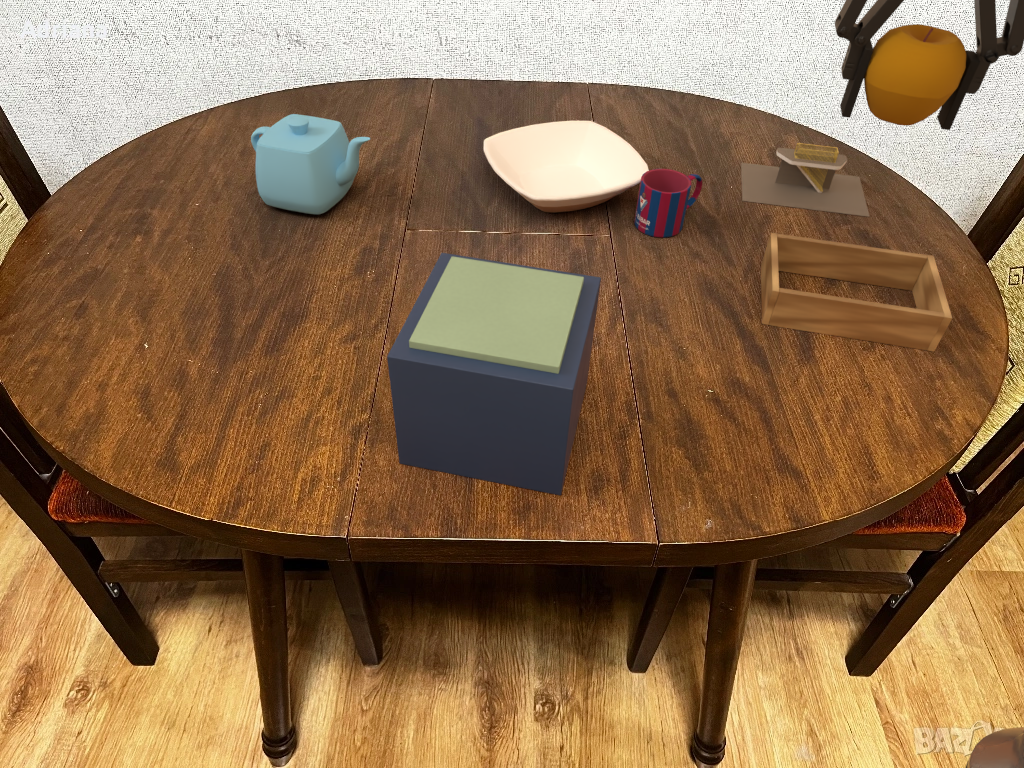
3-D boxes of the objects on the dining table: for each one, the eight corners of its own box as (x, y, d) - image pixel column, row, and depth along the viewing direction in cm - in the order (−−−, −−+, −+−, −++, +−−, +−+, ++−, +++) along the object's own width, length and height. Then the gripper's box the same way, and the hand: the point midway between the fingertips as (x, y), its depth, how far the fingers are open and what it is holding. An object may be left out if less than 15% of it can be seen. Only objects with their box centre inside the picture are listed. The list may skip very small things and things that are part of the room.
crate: (561, 495, 72) (573, 389, 62) (399, 463, 74) (386, 356, 64) (587, 382, 83) (601, 277, 73) (445, 357, 85) (441, 252, 76)
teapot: (359, 232, 103) (349, 153, 95) (240, 208, 106) (221, 130, 98) (395, 188, 112) (388, 112, 104) (284, 167, 115) (270, 93, 107)
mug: (625, 217, 108) (631, 173, 103) (684, 203, 111) (693, 160, 106) (650, 242, 103) (658, 197, 98) (711, 226, 106) (722, 182, 102)
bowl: (592, 144, 123) (596, 113, 119) (663, 211, 109) (669, 178, 105) (467, 167, 117) (467, 135, 113) (525, 241, 102) (526, 207, 99)
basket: (934, 351, 88) (952, 318, 85) (761, 324, 91) (772, 290, 88) (917, 288, 97) (933, 255, 94) (760, 265, 100) (770, 232, 97)
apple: (855, 134, 73) (889, 38, 67) (841, 98, 79) (872, 7, 73) (948, 143, 72) (991, 47, 66) (927, 106, 78) (965, 15, 72)
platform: (869, 216, 110) (886, 175, 105) (742, 200, 112) (753, 159, 107) (859, 176, 118) (874, 136, 113) (741, 162, 120) (751, 122, 116)
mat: (558, 374, 63) (559, 367, 63) (409, 347, 65) (408, 340, 65) (583, 283, 73) (584, 276, 72) (451, 262, 74) (451, 256, 74)
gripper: (1133, -159, 61) (1000, 115, 77) (855, -177, 64) (782, 89, 80) (1169, -142, 56) (1018, 149, 71) (864, -163, 59) (783, 119, 74)
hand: (893, 117), depth 75 cm, fingers closed on apple, 9 cm apart
